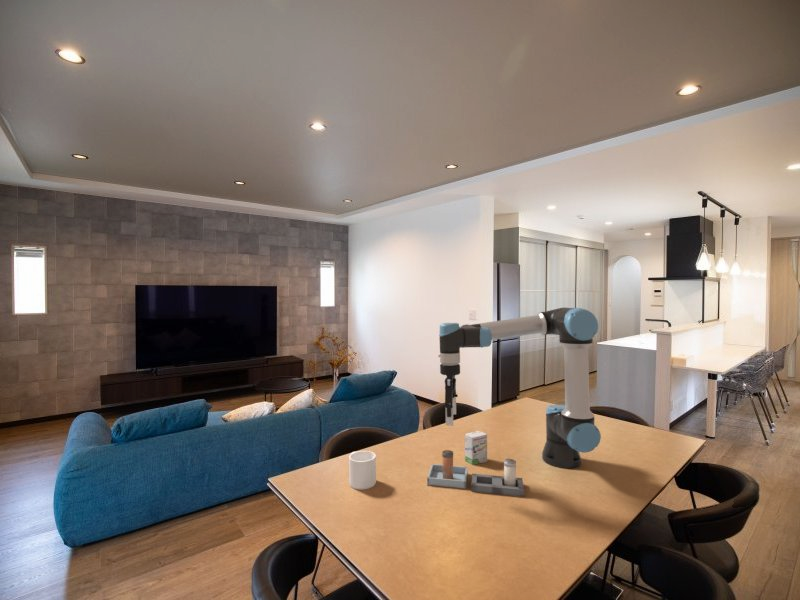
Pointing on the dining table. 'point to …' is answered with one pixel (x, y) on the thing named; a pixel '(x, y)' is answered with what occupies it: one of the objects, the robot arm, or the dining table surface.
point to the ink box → (475, 447)
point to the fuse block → (495, 485)
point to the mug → (362, 470)
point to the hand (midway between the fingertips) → (451, 419)
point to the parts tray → (437, 479)
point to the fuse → (510, 472)
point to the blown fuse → (447, 464)
